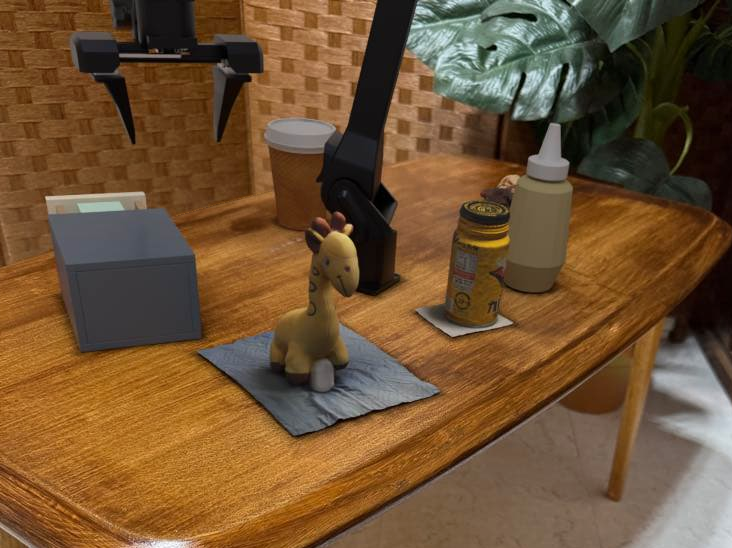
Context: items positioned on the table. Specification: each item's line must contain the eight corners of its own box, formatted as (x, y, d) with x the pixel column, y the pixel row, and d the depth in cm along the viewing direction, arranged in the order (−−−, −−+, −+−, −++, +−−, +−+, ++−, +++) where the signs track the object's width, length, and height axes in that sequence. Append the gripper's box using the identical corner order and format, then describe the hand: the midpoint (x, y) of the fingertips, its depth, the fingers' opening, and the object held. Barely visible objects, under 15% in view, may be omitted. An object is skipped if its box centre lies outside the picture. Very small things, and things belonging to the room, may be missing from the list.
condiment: (513, 324, 93) (532, 214, 86) (452, 338, 89) (466, 224, 82) (474, 300, 98) (488, 193, 91) (413, 312, 94) (423, 201, 87)
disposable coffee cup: (350, 222, 115) (354, 127, 108) (307, 240, 109) (308, 140, 101) (295, 206, 119) (295, 113, 111) (251, 222, 112) (247, 124, 105)
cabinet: (62, 296, 90) (47, 214, 85) (171, 286, 94) (164, 207, 89) (80, 352, 81) (65, 264, 75) (201, 338, 85) (195, 254, 79)
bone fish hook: (536, 239, 117) (552, 200, 131) (544, 205, 114) (559, 168, 128) (471, 226, 119) (494, 188, 132) (477, 191, 116) (499, 157, 129)
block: (126, 250, 96) (119, 201, 93) (133, 265, 93) (127, 214, 90) (84, 253, 94) (76, 203, 91) (91, 268, 91) (82, 217, 88)
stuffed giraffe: (293, 436, 71) (296, 246, 62) (196, 356, 83) (187, 185, 73) (439, 397, 80) (460, 225, 71) (334, 330, 91) (340, 173, 82)
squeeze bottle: (573, 287, 103) (606, 128, 92) (534, 303, 99) (564, 138, 87) (520, 267, 107) (546, 112, 96) (481, 281, 103) (503, 120, 91)
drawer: (51, 243, 99) (40, 183, 95) (142, 237, 103) (135, 178, 98) (71, 302, 87) (60, 236, 83) (173, 292, 91) (167, 229, 87)
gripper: (233, -34, 92) (239, 122, 102) (51, -43, 85) (76, 125, 95) (263, -20, 84) (266, 147, 94) (66, -29, 77) (91, 153, 87)
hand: (176, 142), depth 93 cm, fingers open, 9 cm apart
